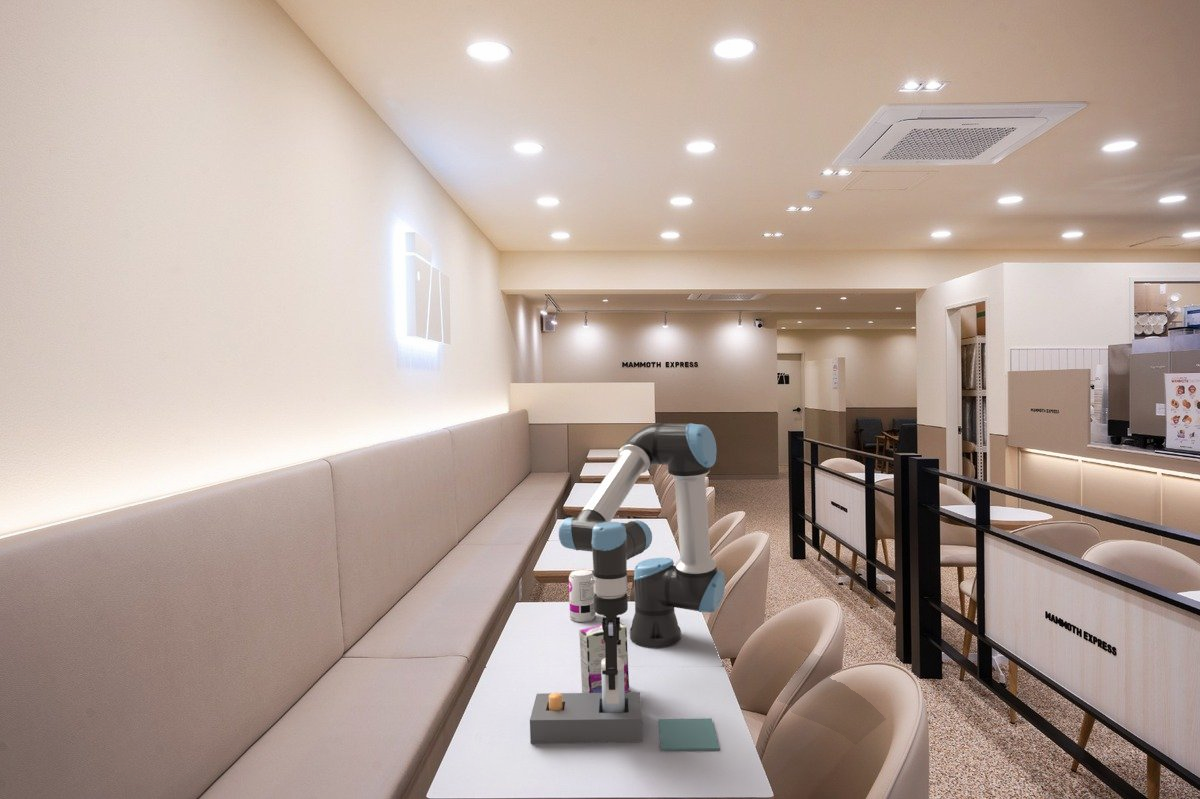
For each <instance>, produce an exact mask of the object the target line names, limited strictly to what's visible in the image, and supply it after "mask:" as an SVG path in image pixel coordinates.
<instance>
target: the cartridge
mask: <svg viewBox="0 0 1200 799" xmlns="http://www.w3.org/2000/svg"><path fill="white" fill-rule="evenodd" d="M605 670H606V666H605V658H604V659H602V661H601V671H605ZM617 670H618V689H619V703H611V704H606V681H605V674H602V709H603V713H625V693H624V660H623V659H622V658H619V657H617Z"/></svg>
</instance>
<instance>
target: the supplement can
mask: <svg viewBox="0 0 1200 799" xmlns="http://www.w3.org/2000/svg"><path fill="white" fill-rule="evenodd" d="M591 579H594V578H593V571H592V570H590V569H586V568H585V569H581V568H580V569H575V570H572V571H570V574H569V576H568V590H569V591H568V594H569V596H568V598H569V617H570V619H572V621H573V622H575V623H587V622H591V621H592V620H594V618H595V617H596V612H595V611H594V595H595V593H594V583H591V582H590V581H591Z"/></svg>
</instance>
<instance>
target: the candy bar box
mask: <svg viewBox="0 0 1200 799" xmlns="http://www.w3.org/2000/svg"><path fill="white" fill-rule="evenodd" d="M578 633H579V636H578V637H579V650H580V651H579V652H580V653H579V654H580V656H579V658H580V673H581V674H580V675H581V679H580V680H581V693H602V671H601V661H602V659H604V658H605V642H604V640H603V629H602V624H600V625H595V626H591V627H587V628H584V629H579V631H578ZM619 640H621V645H617V646H618V651H619V658H622V659H623V660H624V692H629V691H630V678H629V677H630V675H629V654H628V633H627V626H626V625H625V624H623V623H622V622H620V630H619Z"/></svg>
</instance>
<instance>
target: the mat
mask: <svg viewBox="0 0 1200 799" xmlns="http://www.w3.org/2000/svg"><path fill="white" fill-rule="evenodd" d="M657 722H658V730H659V731H658V732H659V737H660V738H659V740H660V741H659V742H660V750H661V751H662V752H671V751H672V752H683V751H684V752H687V751H688V752H691V751H692V752H693V751H694V752H695V751H696V752H698V751H700V752H701V751H702V752H703V751H704V752H705V751H706V752H707V751H709V752H710V751H720V745H719V742H718V738H717V734H716V730H715V727H714V726H715V725H714V723H713V719H712V718H705V717H704V718H703V717H702V718H658V721H657Z"/></svg>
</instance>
